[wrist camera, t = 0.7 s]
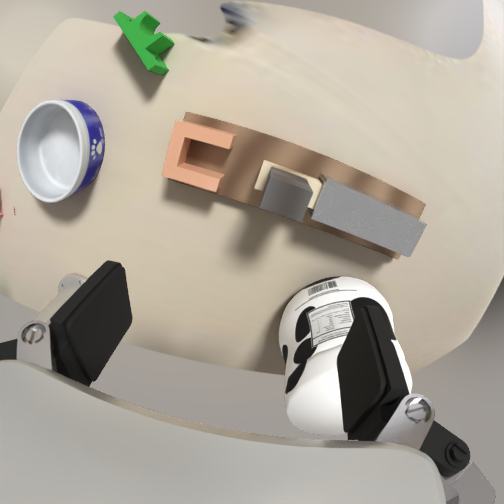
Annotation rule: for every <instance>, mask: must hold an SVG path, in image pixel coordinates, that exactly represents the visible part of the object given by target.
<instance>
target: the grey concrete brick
mask: <svg viewBox="0 0 504 504" xmlns="http://www.w3.org/2000/svg"><path fill="white" fill-rule="evenodd" d="M320 178H321V180H322V181H323V182H324V185H323V187H322V190H321V192H320V195H319V197H318V200H317V202H316V205H315V207H314V209H311V208H309V207H307V209H308V212H309V215H310V217H311V219H313V220H316V221H319V222H321V223H324V224H327V225H329V226H332V227H334V228H337V229H340V230H342V231H345V232H347V233H350V234H353V235H355V236H358V237H360V238H363V239H365V240H368V241H370V242H373V243H375V244H378V245H380V246H382V247H385V248H387V249H390V250H392V251H394V252H397V253H399V254H402V255H404V256H406V257H410V256H411V254H412V252H413V250H414V248H415V247H416V245H417V243H418V241H419V239H420V237H421V235H422V233H423V231H424V229H425V227H426V225H427V224H425V223H424V222H423V221H422V220H420V219H419V218H418V217H417V216H415V215H414V214H412V213H410V212H408V211H406V210H404V209H402V208H400V207H398V206H396V205H394V204H391V203H389V202H387V201H385V200H383V199H381V198H379V197H377V196H374V195H372V194H370V193H368V192H366V191H363V190H361V189H359V188H357V187H354V186H352V185H350V184H347V183H345V182H343V181H340V180H338V179H335V178H333V177H331V176H328V175H326V174H323V173H321V175H320Z"/></svg>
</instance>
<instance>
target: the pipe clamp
mask: <svg viewBox="0 0 504 504" xmlns="http://www.w3.org/2000/svg"><path fill="white" fill-rule="evenodd" d="M114 19H115V20H116V22H117V23H118V25H119V26H120V28H121V29H122V31H123V32H124V34H125V35H126V37H127V38H128V40H129V41H130V43H131V44H132V46H133V48H134V49H135V51H136V52H137V54H138V55H139V57H140V58H141V60H142V61H143V63H144V64H145V66H146V68H147V69H148V70H149V71H152V72H155V73H157V74H160V75H163V74H164V73H166V72H167V71H169V70H168V68H167V67H166V65H165V64H164V62H163V61H162V59H161V58H160V56H159V55H160V54H161V53H162V52H164V51H165V50H167V49H168V48H170V47H171V46H172V45H174V44H175V43H174V42H173V41H172V40H171V39H170V38H168V37H167V36H165V35H164V34H162V33H161V32H159V33H157V34H154V32H155V29H156V28H157V26H158V25H159V24H160V22H159V21H158V20H157V19H155V18H154V17H153V16H151V15H150V14H148V13H147V12H146V11H144V12H143V13H141V14H140V15H139V16H137V17H136V18H135V19H132V18H131V17H129V16H127V15H126V14H124V13H122V12H118V13H117V14H116V15H115V16H114ZM153 34H154V35H153Z"/></svg>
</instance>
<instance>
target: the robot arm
mask: <svg viewBox="0 0 504 504" xmlns="http://www.w3.org/2000/svg"><path fill="white" fill-rule="evenodd" d="M131 323H132V313H131V307H130V301H129V295H128V288H127V281H126V274H125V269H124V267H122V265H121V263H118V262H114V261H109V260H108V261H106V262H105V263H104V264H103V265H102V266H101V267H100V268H99V269H98V270H97V271H96V272H94V273H93V274H92V275H91V276H90V277H89V278H88V279H86V278H84V277H82V276H79V275H75V274H71V275H68V276H66V277H65V278H63V279H62V280H61V282H60V284H59V294H58V295H57V296H56V297H55V298H54V299H53V300H52V301H51V302H50V303H49V304H48V305H47V306H46V307H45V308H44V309H43V311H42V312H41V313H40V314H39V315H38V316H37V317H36V318H35V319H34V320H33V321H31V322H28V323H27V324H25V325H24V326H23V327H22V328H21V330H20V331H19V333H18V339H15V340H11V341H7V342H3V343H0V504H494V503H495V498H496V495H495V490H494V488H493V487H492V486H491V484H490V483H489V481H488V480H487V479H486V478H485V476H484V475H483V474H482V472H481V471H480V470H479V468H478V467H477V466H476V464H475V463H474V462H473V463H471V464H470V462H469V460H470V451H469V448H468V446H467V444H466V443H465V442H463V441H462V440H461V439H459V438H458V437H457V436H455V435H454V434H452V433H451V432H450V431H448V430H447V429H445V428H444V427H442V426H441V425H440V424H438V423H437V422H435V421H434V417H435V409H434V407H433V404H432V403H431V402H430V400H428V399H427V398H426V397H425V396H422V395H420V394H410V393H409V390H408V386H407V383H406V380H405V376H404V373H403V370H402V367H401V364H400V361H399V358H398V355H397V352H396V349H395V346H394V344H393V342H392V341H391V338H390V335H389V332H388V330H387V327H386V324H385V321H384V319H383V316H382V313H381V311H380V308H379V307H376V306H368V305H365V306H364V307H363V308H360V309H359V310H358V311H357V314H356V316H355V318H354V321H353V323H352V325H351V328H350V330H349V332H348V334H347V337H346V339H345V341H344V343H343V345H342V347H341V349H340V352H339V354H338V356H337V371H338V379H339V388H340V398H341V408H342V419H343V430H344V432H345V433H347V434H348V440H358V441H339V440H337V441H336V440H314V439H299V438H286V437H277V436H268V435H261V434H254V433H246V432H241V431H235V430H230V429H224V428H219V427H214V426H209V425H205V424H200V423H196V422H192V421H187V420H184V419H180V418H176V417H173V416H169V415H166V414H162V413H159V412H155V411H152V410H149V409H146V408H143V407H140V406H137V405H134V404H131V403H128V402H126V401H123V400H120V399H117V398H115V397H112V396H110V395H107V394H105V393H102V392H100V391H97V390H94V389H92V388H90V387H89V386H90V384H91V382H92V381H96V380H97V378H98V377H99V375H100V373H101V371H102V370H103V368H104V367H105V365H106V363H107V362H108V360H109V358H110V356H111V355H112V353H113V352H114V350H115V349H116V347H117V346H118V344H119V342H120V341H121V339H122V338H123V336H124V335H125V333H126V332H127V330H128V329H129V327H130V325H131ZM78 382H79V383H78ZM85 385H86V386H85Z"/></svg>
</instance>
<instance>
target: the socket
mask: <svg viewBox="0 0 504 504" xmlns="http://www.w3.org/2000/svg"><path fill="white" fill-rule="evenodd" d="M236 137H237V135H236V134H232V133H229V132H226V131H222V130H218V129H215V128H211V127H207V126H204V125H200V124H196V123H192V122H188V121H175V125H174V128H173V132H172V136H171V140H170V143H169V147H168V151H167V155H166V159H165V164H164V168H163V172H162V176H164V177H167V178H171V179H174V180H178V181H181V182H184V183H188V184H191V185H194V186H198V187H201V188H204V189H207V190H210V191H214V192H217V191H218V189H219V188H220V187H221V185H222V182H223V178H224V174H221V173H218V172H214V171H211V170H208V169H204V168H201V167H198V166H194V165H191V164H187V163H185V160H186V157H187V153H188V149H189V146H190V142H191V139H195V140H198V141H202V142H206V143H209V144H213V145H216V146H220V147H223V148H226V149H231V148H233V146H234V143H235V140H236Z"/></svg>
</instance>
